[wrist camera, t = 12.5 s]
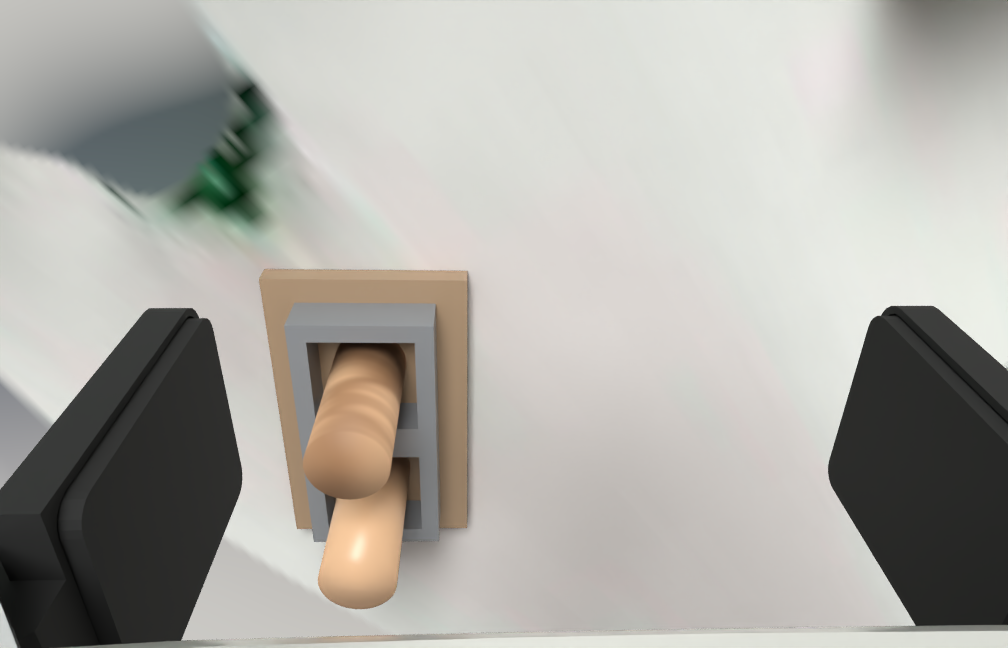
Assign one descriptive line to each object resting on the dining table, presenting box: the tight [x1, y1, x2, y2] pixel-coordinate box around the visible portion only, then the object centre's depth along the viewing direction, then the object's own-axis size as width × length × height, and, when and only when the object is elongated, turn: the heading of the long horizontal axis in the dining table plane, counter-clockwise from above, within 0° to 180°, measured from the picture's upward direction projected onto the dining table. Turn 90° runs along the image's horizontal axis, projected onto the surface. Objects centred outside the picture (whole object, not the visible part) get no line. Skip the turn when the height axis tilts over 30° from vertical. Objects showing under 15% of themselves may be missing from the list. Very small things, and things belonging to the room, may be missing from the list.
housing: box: [259, 269, 467, 609], centre depth 41 cm, size 11×18×10 cm, turn 179°
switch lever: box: [303, 343, 406, 500], centre depth 38 cm, size 4×4×9 cm
